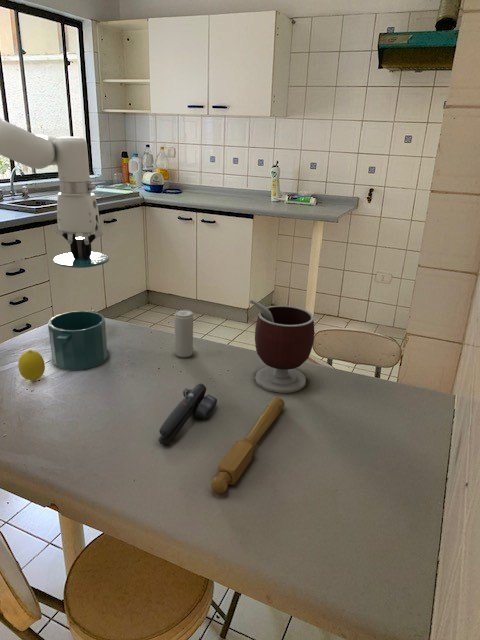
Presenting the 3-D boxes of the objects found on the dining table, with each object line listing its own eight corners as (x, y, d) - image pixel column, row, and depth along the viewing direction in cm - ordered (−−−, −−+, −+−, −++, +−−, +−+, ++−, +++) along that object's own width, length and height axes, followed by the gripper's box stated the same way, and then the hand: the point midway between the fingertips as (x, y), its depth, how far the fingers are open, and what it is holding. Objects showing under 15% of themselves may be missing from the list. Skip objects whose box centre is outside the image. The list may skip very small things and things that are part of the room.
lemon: (27, 389, 105) (22, 358, 102) (16, 380, 108) (11, 350, 105) (51, 381, 109) (47, 350, 106) (39, 372, 112) (35, 343, 109)
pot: (38, 373, 112) (32, 333, 108) (70, 341, 129) (66, 305, 125) (92, 377, 111) (89, 337, 107) (117, 344, 128) (115, 308, 124)
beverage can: (171, 354, 124) (170, 313, 119) (183, 348, 127) (183, 308, 123) (184, 360, 121) (184, 317, 117) (196, 353, 125) (197, 312, 120)
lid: (44, 268, 120) (41, 242, 118) (67, 254, 134) (65, 231, 131) (98, 271, 120) (96, 245, 117) (116, 257, 133) (115, 234, 130)
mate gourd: (309, 369, 119) (318, 296, 111) (307, 397, 106) (316, 317, 99) (250, 362, 121) (254, 290, 114) (241, 389, 109) (245, 310, 101)
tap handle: (286, 398, 100) (224, 485, 75) (284, 410, 101) (223, 500, 76) (272, 394, 101) (207, 479, 76) (271, 406, 102) (207, 493, 77)
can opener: (193, 398, 104) (193, 376, 102) (220, 406, 101) (221, 384, 99) (145, 441, 89) (144, 416, 87) (175, 452, 87) (175, 427, 84)
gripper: (110, 188, 122) (115, 256, 129) (51, 185, 123) (59, 252, 130) (100, 191, 115) (106, 263, 122) (38, 188, 116) (46, 259, 123)
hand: (81, 257), depth 126 cm, fingers closed on lid, 2 cm apart
